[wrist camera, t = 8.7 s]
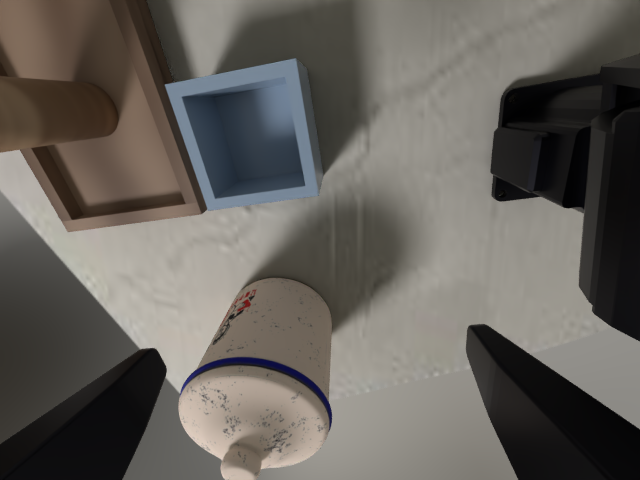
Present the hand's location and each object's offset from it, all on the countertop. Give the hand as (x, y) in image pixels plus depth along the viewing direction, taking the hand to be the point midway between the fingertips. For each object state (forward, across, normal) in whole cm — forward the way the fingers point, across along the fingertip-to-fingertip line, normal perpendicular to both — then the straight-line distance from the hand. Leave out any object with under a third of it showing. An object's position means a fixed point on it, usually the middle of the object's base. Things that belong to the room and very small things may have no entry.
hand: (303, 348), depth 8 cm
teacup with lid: (+13, +6, +11) cm, 18 cm away
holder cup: (+13, +3, -5) cm, 14 cm away
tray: (+13, +13, -8) cm, 20 cm away
